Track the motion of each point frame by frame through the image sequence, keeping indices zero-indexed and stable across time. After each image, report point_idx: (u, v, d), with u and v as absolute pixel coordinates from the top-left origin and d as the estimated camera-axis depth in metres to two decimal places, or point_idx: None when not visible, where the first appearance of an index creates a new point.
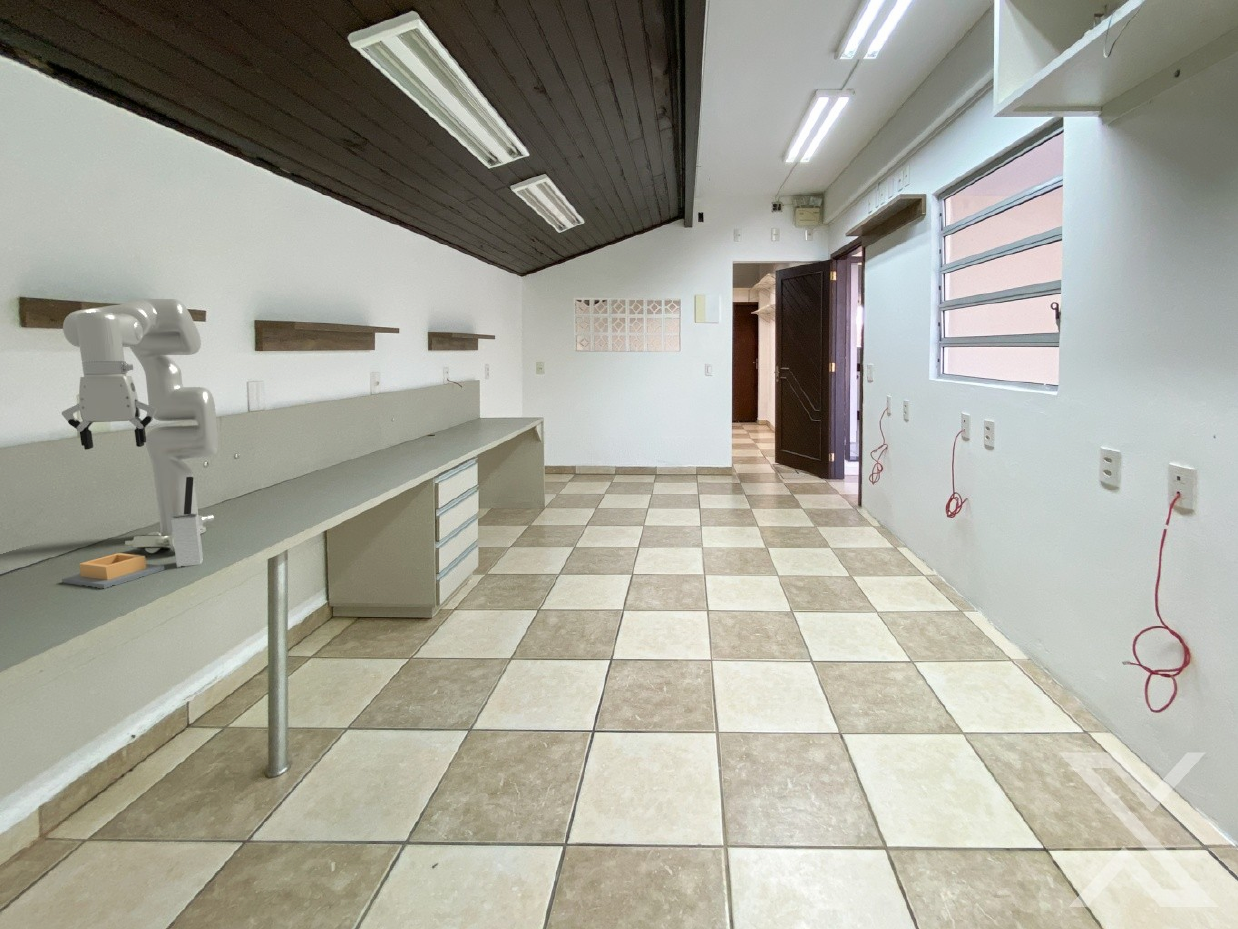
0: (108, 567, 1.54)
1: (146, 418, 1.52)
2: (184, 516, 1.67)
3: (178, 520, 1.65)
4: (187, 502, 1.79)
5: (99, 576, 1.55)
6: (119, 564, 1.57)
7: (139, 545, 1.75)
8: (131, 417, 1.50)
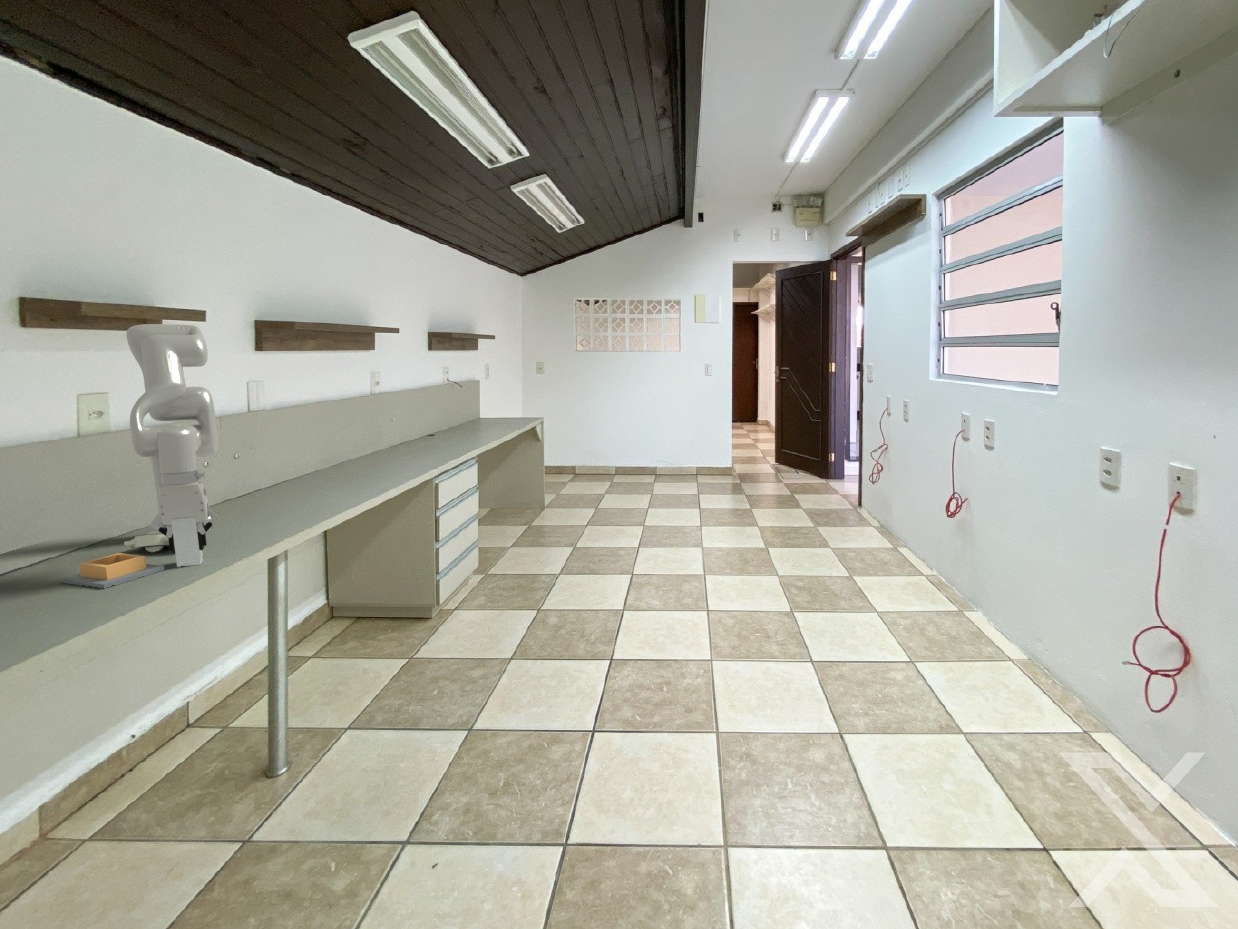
0: (108, 567, 1.54)
1: (208, 524, 1.69)
2: None
3: (178, 520, 1.65)
4: None
5: (99, 576, 1.55)
6: (119, 564, 1.57)
7: (144, 544, 1.76)
8: (204, 519, 1.68)
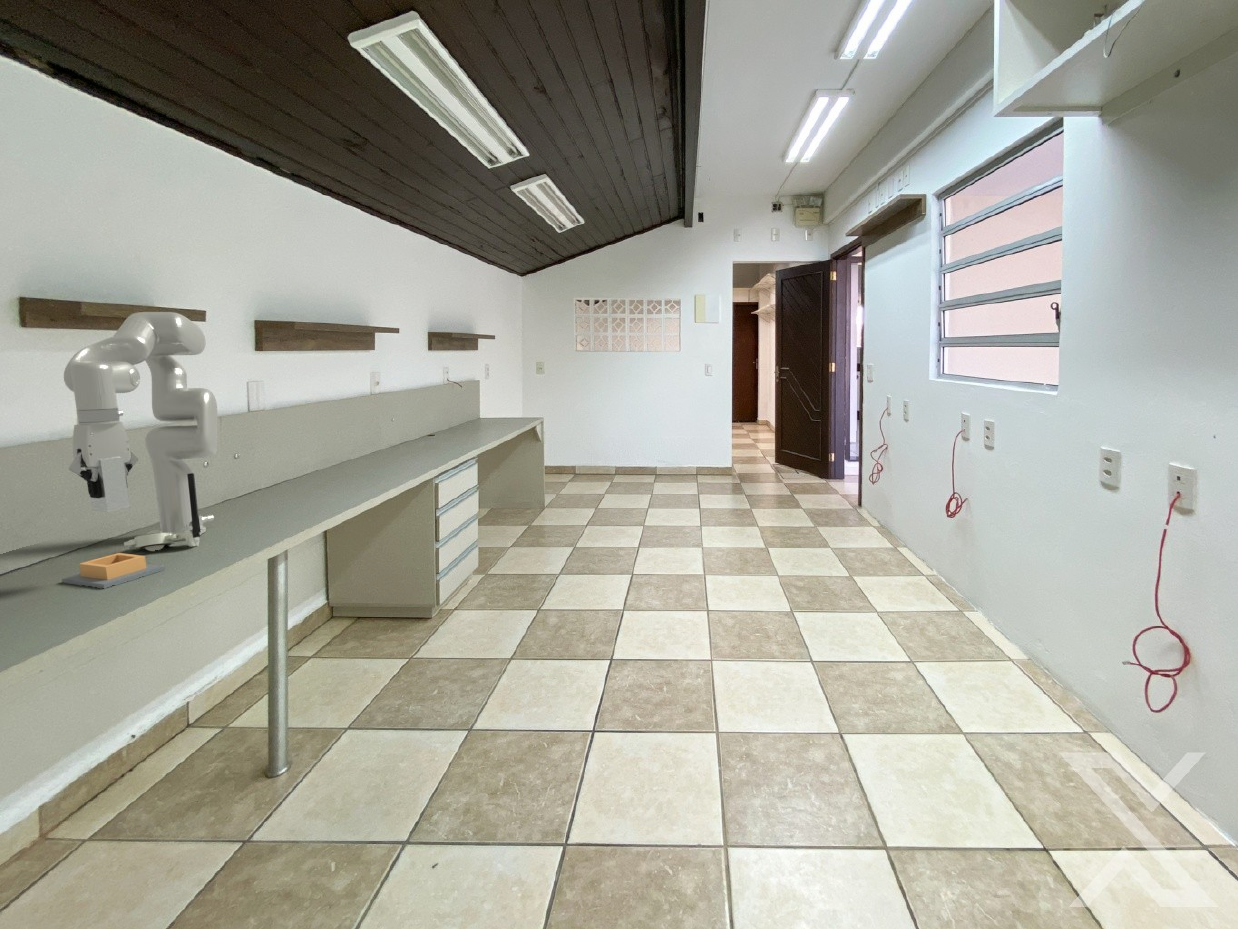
0: (108, 567, 1.54)
1: (129, 465, 1.61)
2: None
3: (107, 460, 1.54)
4: (192, 498, 1.85)
5: (99, 576, 1.55)
6: (119, 564, 1.57)
7: (149, 543, 1.77)
8: (129, 460, 1.60)
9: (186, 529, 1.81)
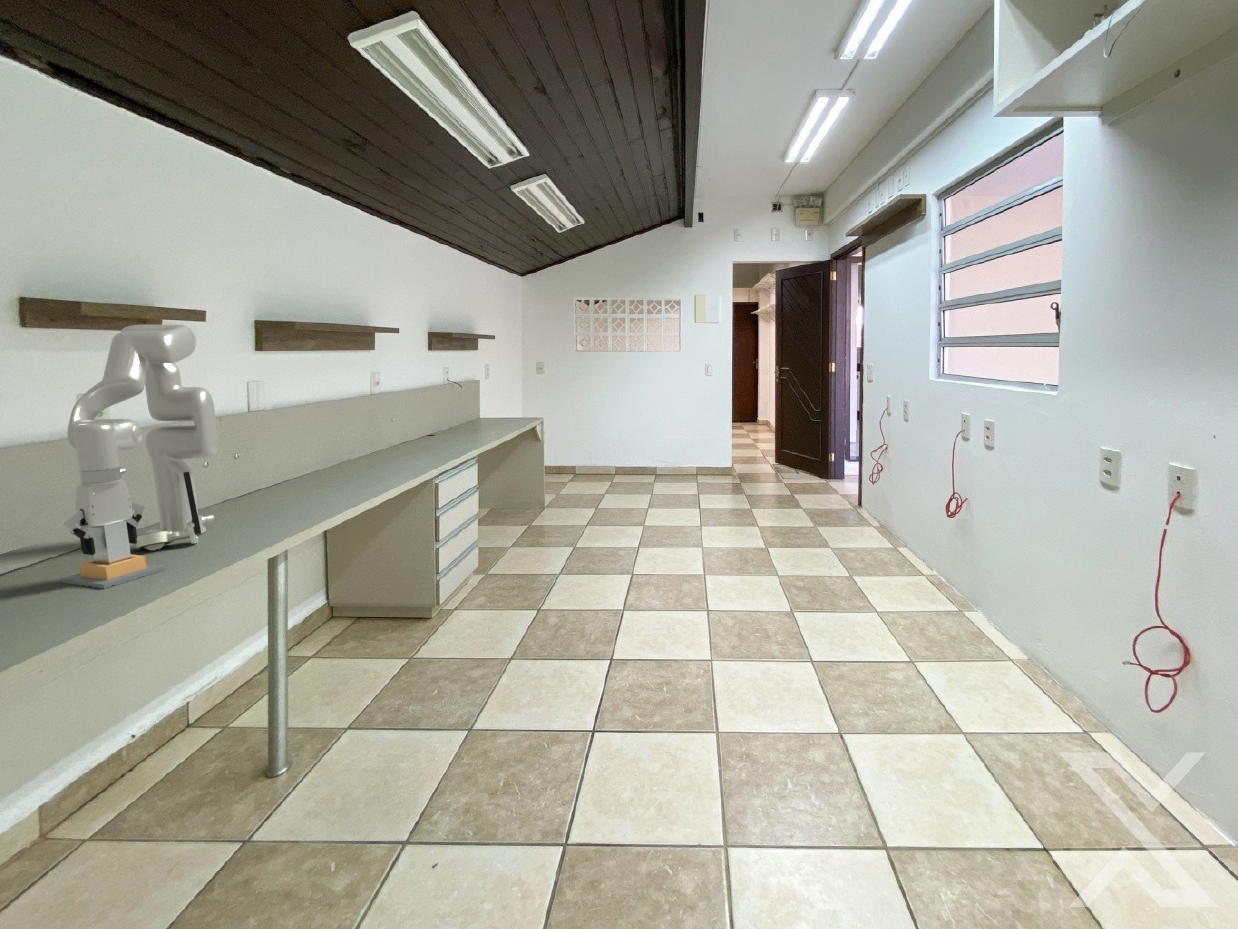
0: (108, 567, 1.54)
1: (138, 516, 1.64)
2: None
3: (110, 525, 1.56)
4: (190, 496, 1.87)
5: (99, 576, 1.55)
6: (119, 564, 1.57)
7: (153, 542, 1.79)
8: (131, 517, 1.61)
9: (189, 526, 1.84)
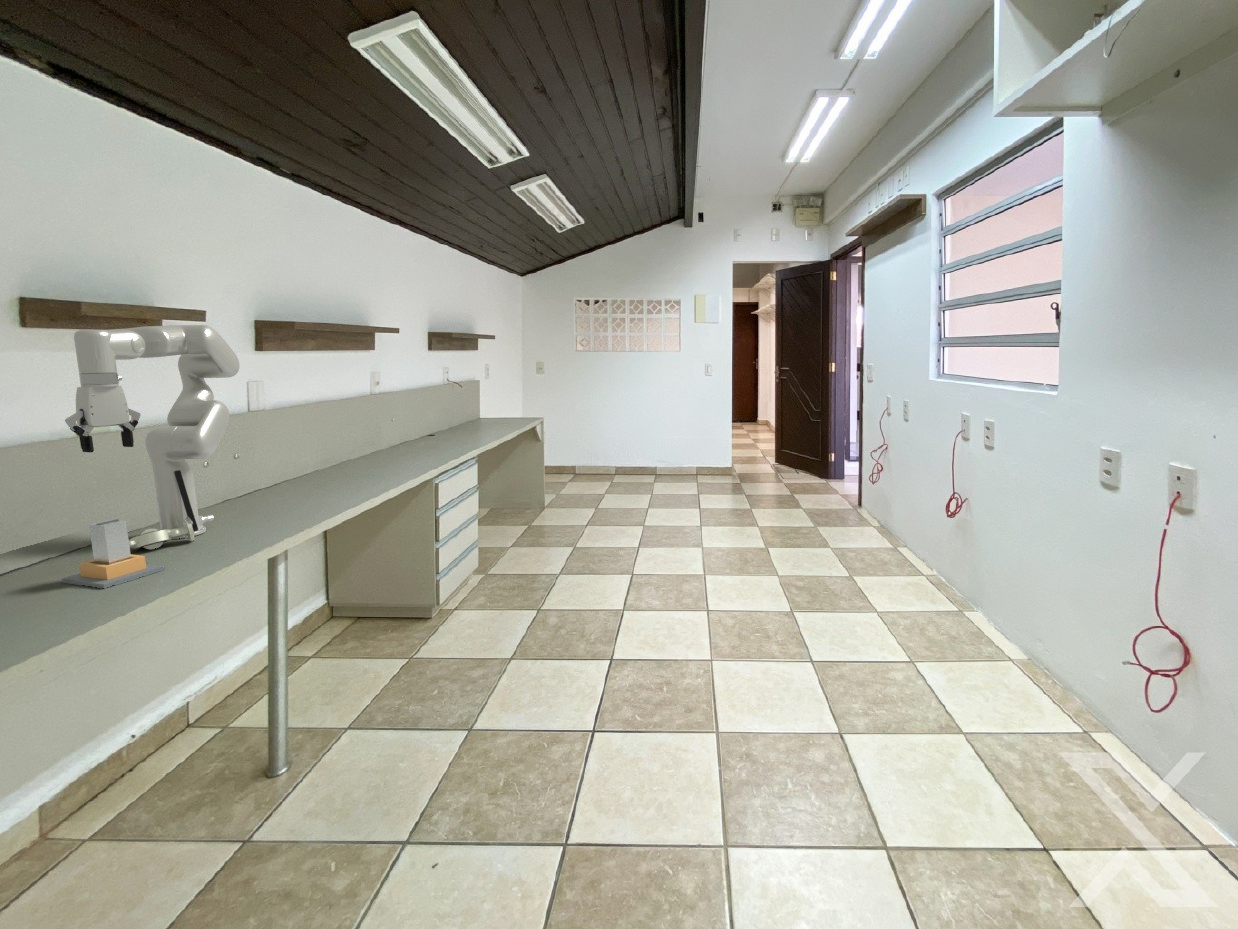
0: (108, 567, 1.54)
1: (135, 422, 1.75)
2: (109, 522, 1.58)
3: (110, 525, 1.56)
4: (184, 494, 1.89)
5: (99, 576, 1.55)
6: (119, 564, 1.57)
7: (156, 540, 1.80)
8: (128, 421, 1.72)
9: (189, 524, 1.87)
